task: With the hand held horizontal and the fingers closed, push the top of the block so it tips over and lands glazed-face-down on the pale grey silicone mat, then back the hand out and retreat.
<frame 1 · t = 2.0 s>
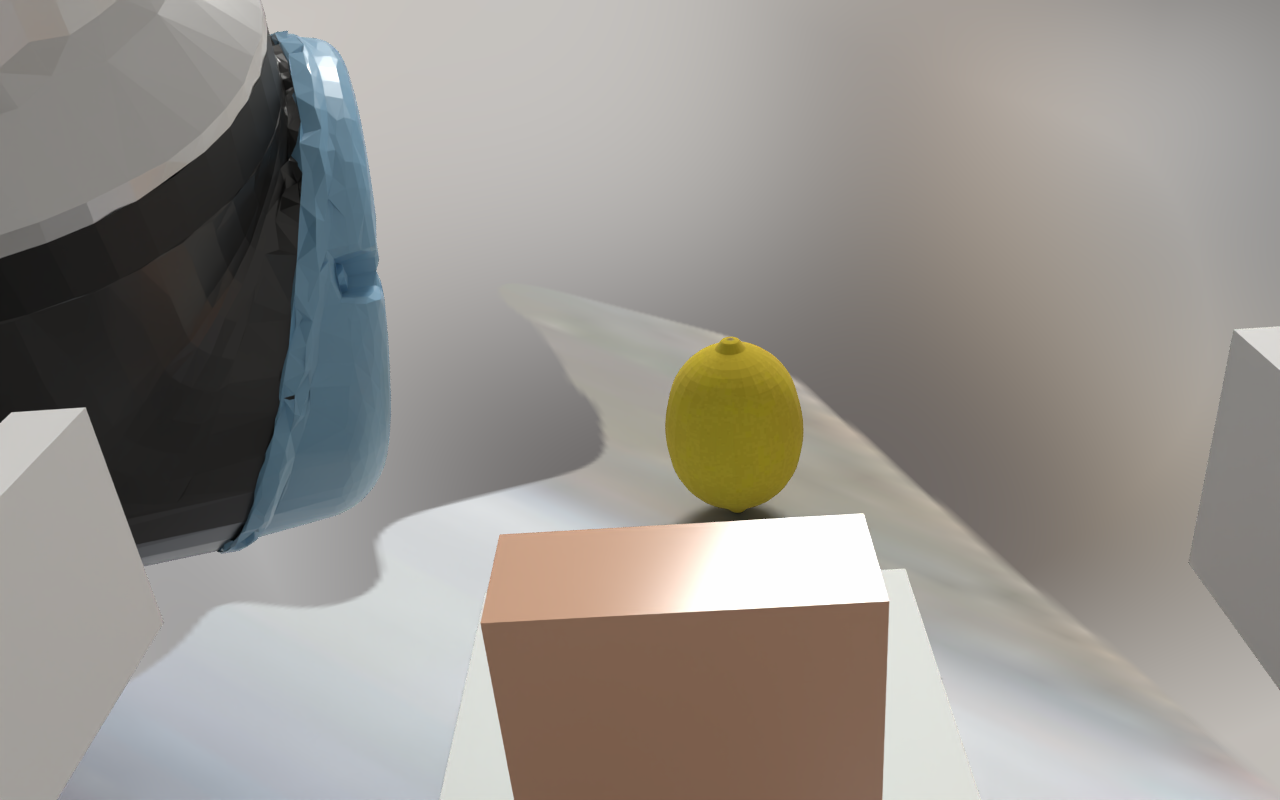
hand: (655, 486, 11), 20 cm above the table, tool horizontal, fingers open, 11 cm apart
mat: (702, 768, 34), on the table
lemon: (737, 514, 46), on the table
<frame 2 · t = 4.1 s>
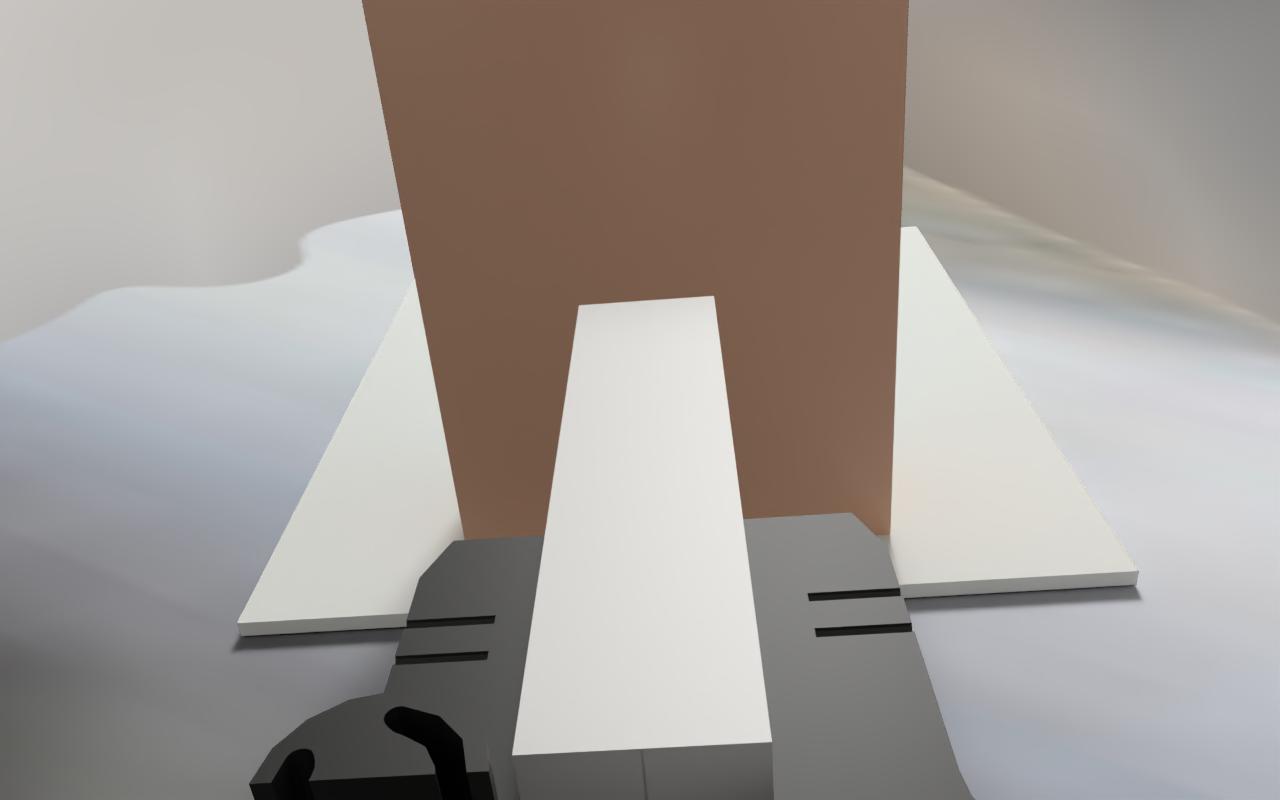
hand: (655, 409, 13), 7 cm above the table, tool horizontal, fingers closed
mat: (671, 380, 27), on the table
block: (675, 503, 22), resting on mat
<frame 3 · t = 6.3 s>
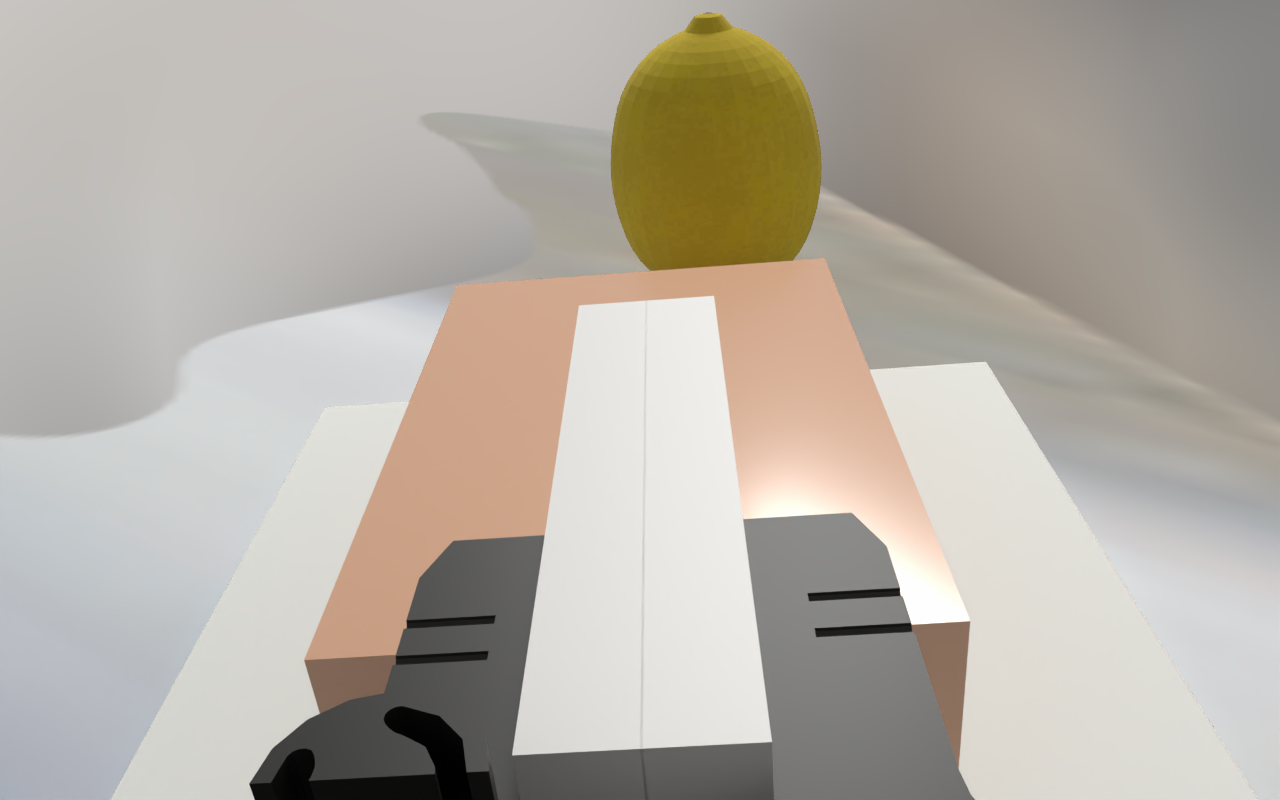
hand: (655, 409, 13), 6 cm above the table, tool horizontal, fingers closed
mat: (653, 644, 18), on the table
lemon: (722, 315, 31), on the table
block: (642, 733, 14), point 2 cm above the table, tilted 90°, touching mat
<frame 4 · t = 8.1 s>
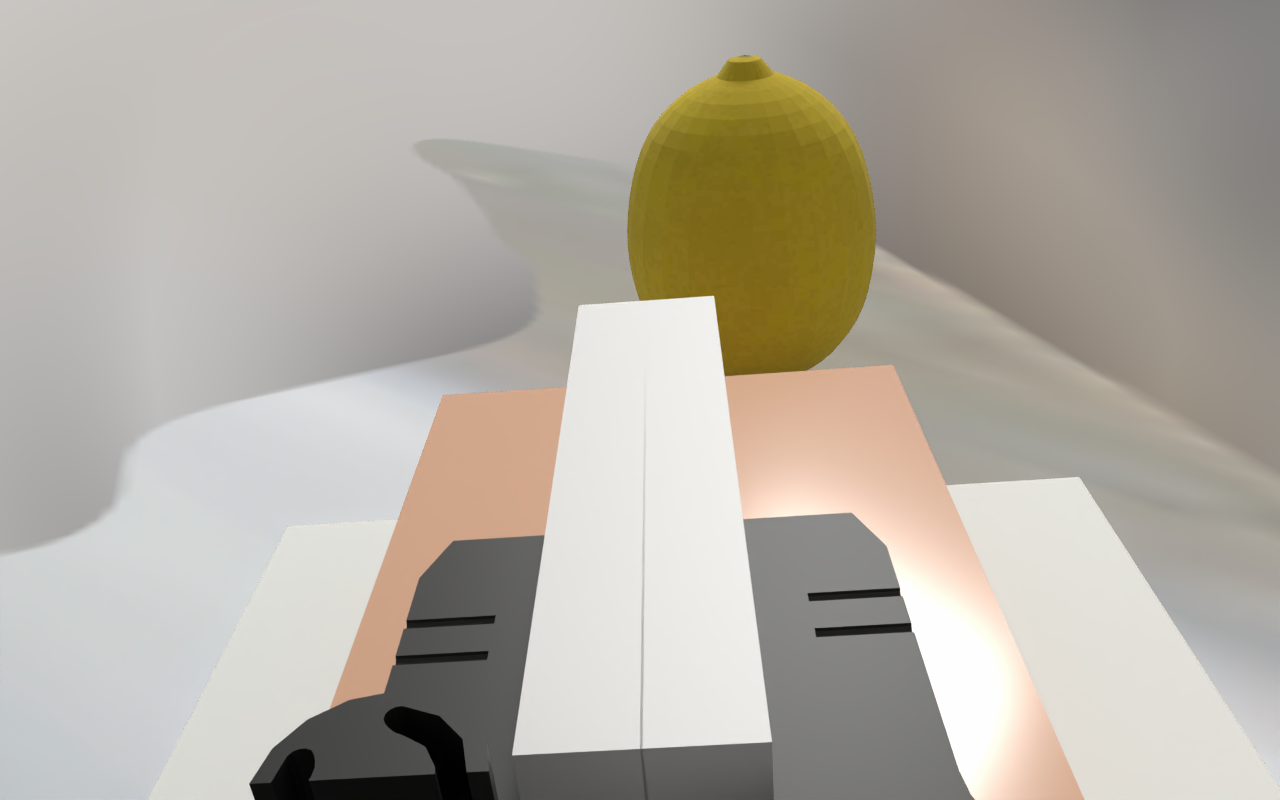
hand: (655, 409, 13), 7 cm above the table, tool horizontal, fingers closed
lemon: (755, 401, 27), on the table
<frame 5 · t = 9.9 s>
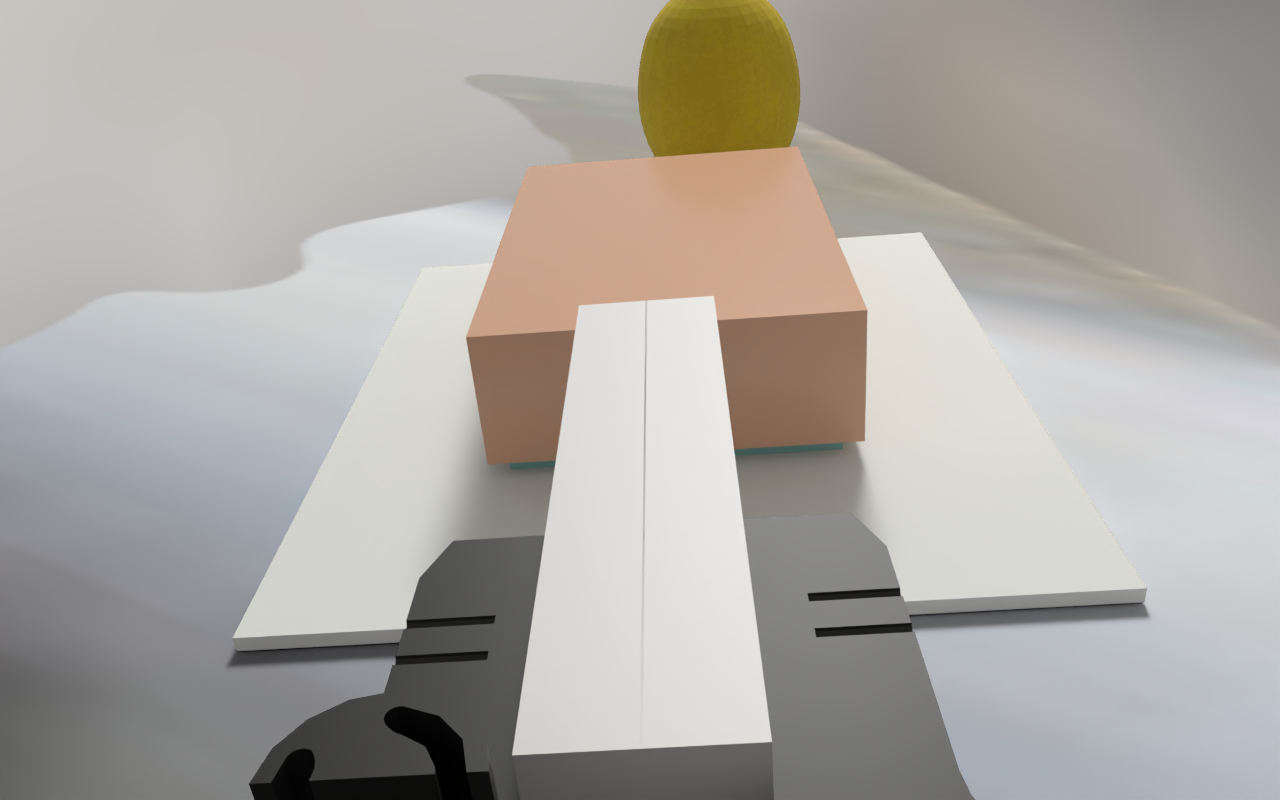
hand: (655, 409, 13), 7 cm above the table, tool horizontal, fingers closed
mat: (673, 389, 27), on the table
lemon: (723, 211, 39), on the table
block: (669, 390, 22), point 2 cm above the table, tilted 90°, touching mat
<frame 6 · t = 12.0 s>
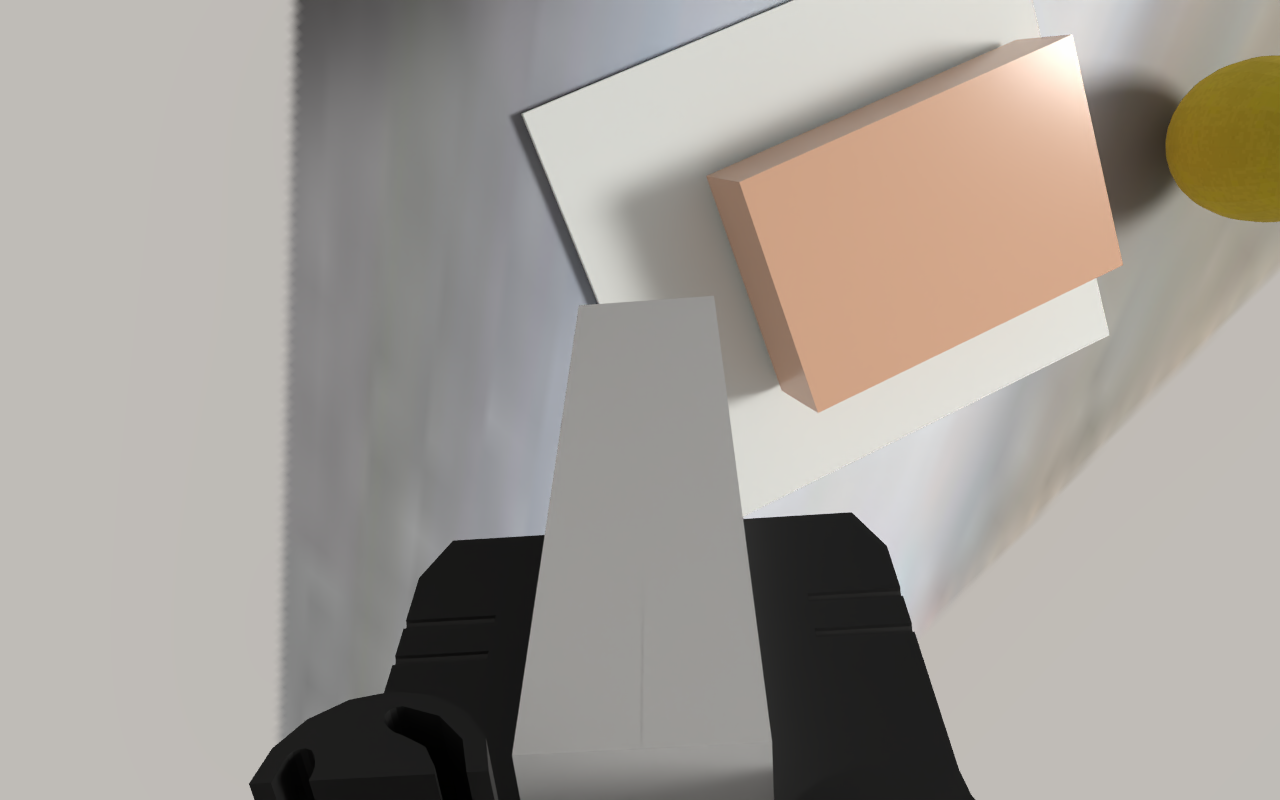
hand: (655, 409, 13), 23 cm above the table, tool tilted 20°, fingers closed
mat: (843, 235, 38), on the table
lemon: (1177, 136, 41), on the table
block: (762, 294, 35), point 2 cm above the table, tilted 90°, touching mat
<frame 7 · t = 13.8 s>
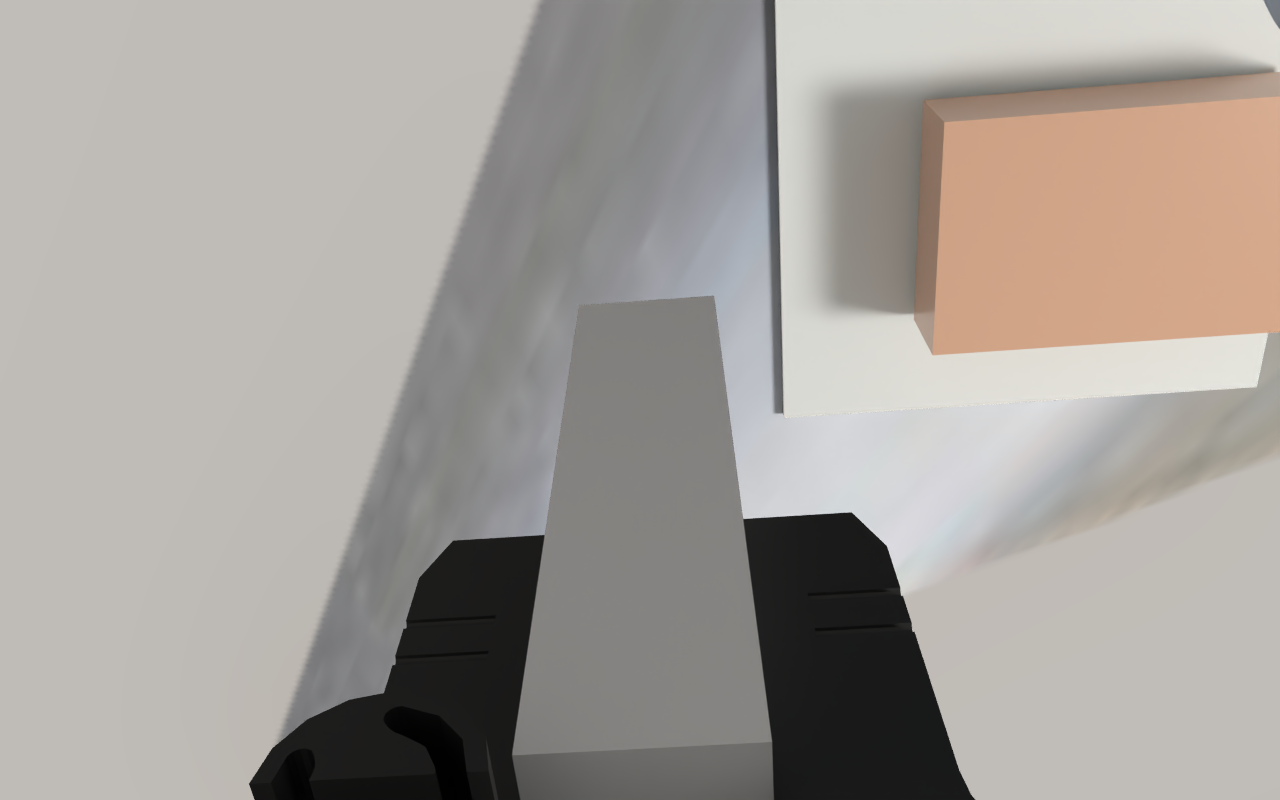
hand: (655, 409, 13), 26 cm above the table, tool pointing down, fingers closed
mat: (1034, 200, 38), on the table
block: (927, 229, 37), point 2 cm above the table, tilted 90°, touching mat
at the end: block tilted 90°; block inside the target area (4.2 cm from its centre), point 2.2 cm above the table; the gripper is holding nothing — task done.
